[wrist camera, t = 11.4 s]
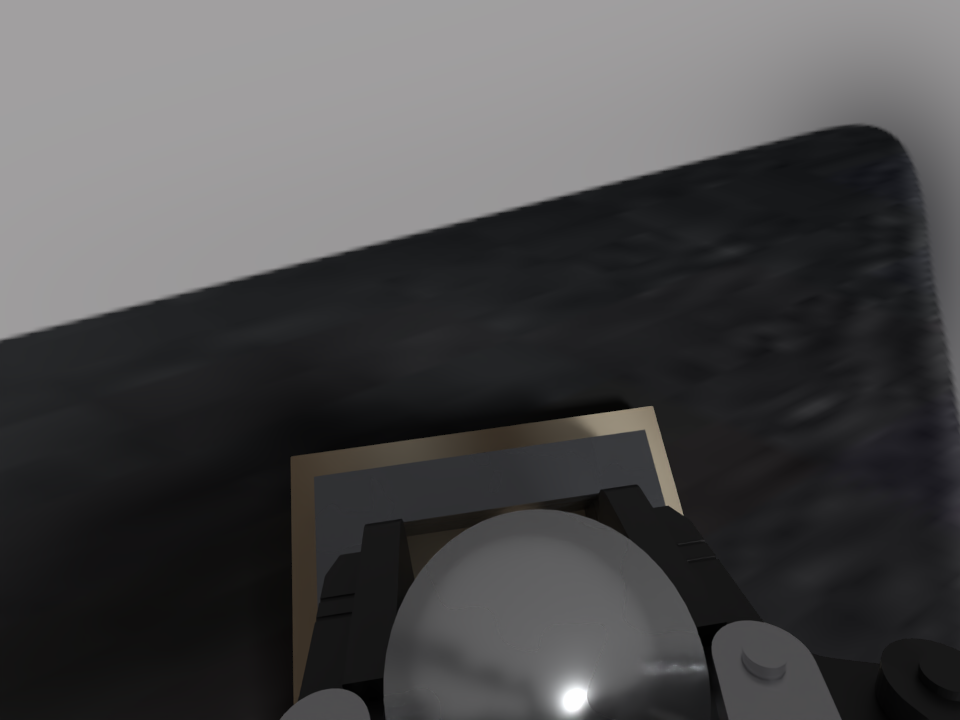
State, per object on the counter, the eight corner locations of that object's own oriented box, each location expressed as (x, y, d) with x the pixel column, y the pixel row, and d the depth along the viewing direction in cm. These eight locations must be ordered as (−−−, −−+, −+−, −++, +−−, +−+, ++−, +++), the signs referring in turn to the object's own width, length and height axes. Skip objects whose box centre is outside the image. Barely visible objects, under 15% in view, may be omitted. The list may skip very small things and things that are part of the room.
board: (308, 926, 14) (296, 948, 13) (300, 463, 19) (290, 456, 18) (760, 840, 15) (779, 855, 14) (644, 415, 20) (652, 405, 19)
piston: (441, 747, 13) (398, 918, 6) (424, 569, 15) (372, 531, 8) (606, 718, 14) (757, 849, 6) (572, 546, 15) (660, 489, 8)
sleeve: (356, 857, 14) (326, 919, 11) (339, 496, 18) (313, 477, 15) (703, 794, 15) (755, 838, 12) (619, 456, 18) (645, 429, 15)
